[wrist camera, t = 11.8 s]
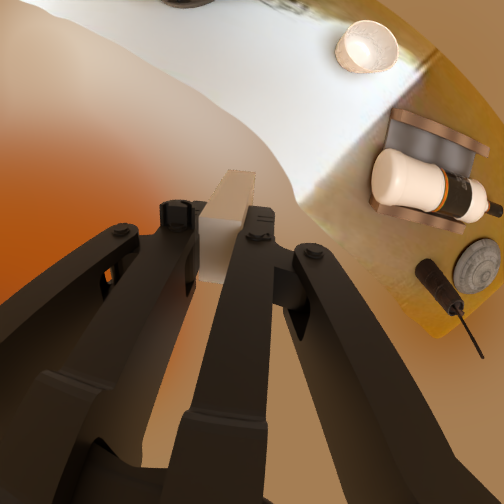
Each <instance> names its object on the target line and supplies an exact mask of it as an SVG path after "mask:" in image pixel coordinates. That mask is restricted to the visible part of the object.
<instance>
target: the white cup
mask: <svg viewBox="0 0 504 504" xmlns="http://www.w3.org/2000/svg"><path fill="white" fill-rule="evenodd" d="M335 54H336V58H337V61H338V62H339V63H340V65H341V66H342V67H343V68H344V69H346V70H348V71H350V72H354V73H373V72H382V71H386V70H388V69H390V68H391V67H392V66H393V65H394V64H395V63H396V61H397V59H398V55H399V48H398V44H397V41H396V39H395V37H394V36H393V34H392V33H391V32H390V31H389V30H388V29H387V28H386V27H385V26H383V25H381V24H379V23H377V22H374V21H369V20H362V21H358V22H355V23H354V24H352V25H351V26H350V27H349V28H348V29H347V31H346V32H345V33H344V34H343V36H342V37H341V39H340V40H339V42H338V44H337V46H336V50H335Z"/></svg>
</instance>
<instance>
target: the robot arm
mask: <svg viewBox="0 0 504 504" xmlns="http://www.w3.org/2000/svg"><path fill="white" fill-rule="evenodd" d="M161 1H162V2H164V3H165V4H167V5H170V6H173V7H177V8H193V7H198V6H202V5H205V4H208V3H210V2H212V1H214V0H161ZM254 183H255V172H246V171H237V170H228V171H227V173H226V174H225V176H224V177H223V179H222V180H221V182H220V183H219V185H218V186H217V188H216V190H215V191H214V193H213V194H212V196H211V198H210V199H209V201H208V202H203V201H193V202H190V201H187V200H170V201H166V202H163V203H162V204H160V225H161V226H160V227H159V228H158V230H157V231H156V232H155V233H154V234H153V235H139V230H138V227H137V226H135V225H133V224H127V223H119V224H117V225H113V226H111V227H109V228H108V229H106V230H104V231H103V232H101V233H100V234H98V235H96V236H95V237H93V238H92V239H90V240H89V241H87V242H86V243H84V244H83V245H82V246H80V247H78V248H77V249H75V250H74V251H72V252H71V253H69V254H68V255H67V256H65V257H64V258H62V259H61V260H59V261H58V262H57V263H55V264H54V265H52V266H51V267H50V268H48V269H47V270H45V271H44V272H43V273H41V274H40V275H39V276H37V277H36V278H35V279H33V280H32V281H31V282H29V283H28V284H27V285H25V286H24V287H23V288H21V289H20V290H19V291H18V292H16V293H15V294H14V295H13V296H11V297H10V298H9V299H8V300H6V301H5V302H4V303H3V304H1V305H0V504H273V503H272V502H270V501H269V500H268V499H266V498H264V497H263V490H264V478H265V464H266V452H267V436H268V424H267V422H266V404H267V390H268V389H267V388H268V373H269V358H270V341H271V340H270V339H271V322H272V303H273V304H276V305H279V306H282V307H283V314H284V317H285V320H286V323H287V326H288V329H289V331H290V334H291V337H292V340H293V343H294V346H295V349H296V352H297V355H298V358H299V361H300V363H301V366H302V369H303V372H304V375H305V378H306V381H307V384H308V387H309V390H310V393H311V396H312V399H313V402H314V405H315V408H316V411H317V414H318V417H319V420H320V422H321V425H322V429H323V432H324V435H325V438H326V441H327V444H328V447H329V450H330V453H331V456H332V459H333V462H334V465H335V468H336V471H337V474H338V477H339V480H340V483H341V486H342V489H343V492H344V495H345V498H346V500H347V502H348V504H501V502H500V501H499V500H498V499H497V498H496V497H495V496H494V495H492V494H491V493H490V492H489V491H488V490H487V488H485V487H484V485H483V484H482V483H481V482H480V481H478V479H477V478H475V476H474V475H472V473H471V472H470V471H468V470H467V469H466V468H465V466H463V464H462V463H461V462H460V461H459V460H458V459H457V458H456V457H455V456H454V454H453V452H452V449H451V447H450V446H449V443H448V442H447V440H446V438H445V436H444V434H443V432H442V430H441V428H440V426H439V424H438V422H437V421H436V418H435V417H434V415H433V413H432V411H431V409H430V408H429V406H428V404H427V402H426V400H425V398H424V397H423V395H422V393H421V391H420V390H419V388H418V386H417V384H416V382H415V381H414V379H413V377H412V376H411V374H410V372H409V370H408V369H407V367H406V365H405V364H404V362H403V360H402V359H401V357H400V356H399V354H398V352H397V351H396V349H395V347H394V346H393V344H392V343H391V341H390V339H389V338H388V336H387V334H386V333H385V331H384V330H383V328H382V326H381V325H380V323H379V322H378V320H377V319H376V317H375V315H374V314H373V312H372V311H371V310H370V308H369V306H368V305H367V303H366V302H365V300H364V299H363V297H362V296H361V294H360V293H359V291H358V290H357V288H356V287H355V286H354V284H353V282H352V281H351V280H350V278H349V276H348V275H347V274H346V272H345V271H344V269H343V268H342V266H341V265H340V263H339V262H338V261H337V259H336V258H335V256H334V255H333V254H332V252H331V251H330V250H328V249H327V248H325V247H323V246H322V245H319V244H316V243H303V244H300V245H297V246H296V248H295V250H294V251H290V250H288V249H285V248H283V247H281V246H279V245H278V244H277V243H276V242H275V237H274V221H275V213H274V211H273V210H272V209H271V208H267V207H259V206H252V204H253V193H254ZM109 268H110V272H111V276H112V279H111V280H110V281H109V282H107V281H106V278H105V274H104V272H105V271H107V270H108V269H109ZM198 270H199V281H204V282H212V283H219V284H223V288H222V291H221V295H220V298H219V302H218V306H217V309H216V313H215V316H214V320H213V324H212V328H211V331H210V335H209V339H208V342H207V346H206V350H205V354H204V357H203V361H202V365H201V369H200V373H199V376H198V380H197V384H196V388H195V392H194V396H193V400H192V403H191V406H190V408H189V410H187V411H185V412H184V414H183V416H182V418H181V421H180V424H179V427H178V431H177V435H176V439H175V443H174V447H173V450H172V455H171V458H170V462H169V466H168V468H142V467H141V463H142V441H143V437H144V433H145V431H146V427H147V424H148V421H149V418H150V415H151V412H152V409H153V406H154V403H155V400H156V397H157V394H158V391H159V388H160V385H161V382H162V379H163V376H164V374H165V371H166V368H167V365H168V362H169V359H170V356H171V354H172V351H173V348H174V345H175V342H176V340H177V337H178V334H179V332H180V329H181V326H182V324H183V321H184V318H185V315H186V312H187V310H188V307H189V305H190V302H191V299H192V297H193V294H194V291H195V289H196V275H197V273H198Z"/></svg>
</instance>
